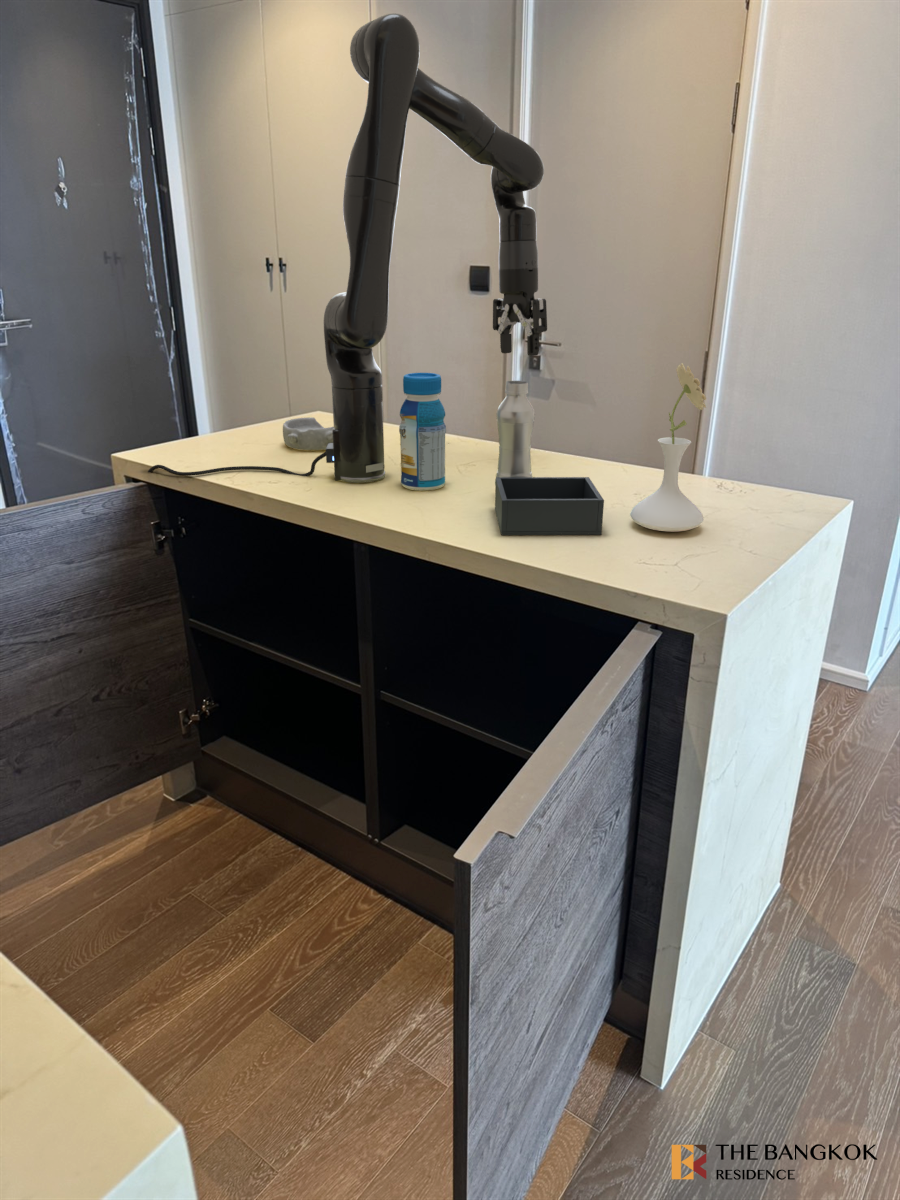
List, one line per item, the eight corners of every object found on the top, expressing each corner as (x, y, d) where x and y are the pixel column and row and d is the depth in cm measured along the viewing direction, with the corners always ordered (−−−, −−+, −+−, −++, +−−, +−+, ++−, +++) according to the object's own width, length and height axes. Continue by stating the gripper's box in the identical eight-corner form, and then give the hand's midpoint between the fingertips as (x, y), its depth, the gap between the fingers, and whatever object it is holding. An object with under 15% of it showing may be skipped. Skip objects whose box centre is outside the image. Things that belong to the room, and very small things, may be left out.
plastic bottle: (533, 502, 149) (538, 385, 141) (494, 502, 149) (497, 385, 142) (531, 492, 155) (536, 379, 147) (493, 492, 155) (496, 379, 148)
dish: (294, 437, 197) (292, 415, 195) (353, 439, 195) (352, 417, 193) (273, 452, 183) (271, 428, 181) (336, 454, 182) (335, 430, 180)
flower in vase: (701, 541, 131) (722, 372, 121) (625, 534, 134) (640, 369, 124) (702, 516, 142) (722, 360, 133) (632, 510, 145) (646, 357, 136)
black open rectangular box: (501, 535, 133) (502, 500, 131) (494, 509, 146) (495, 477, 143) (601, 534, 133) (604, 500, 131) (586, 509, 146) (588, 476, 144)
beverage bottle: (439, 493, 155) (439, 379, 147) (394, 490, 156) (391, 377, 149) (450, 481, 162) (451, 372, 154) (407, 478, 164) (406, 370, 156)
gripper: (480, 268, 169) (483, 354, 175) (526, 266, 158) (527, 358, 163) (511, 267, 173) (512, 351, 178) (557, 265, 161) (557, 354, 167)
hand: (519, 354), depth 171 cm, fingers open, 8 cm apart
